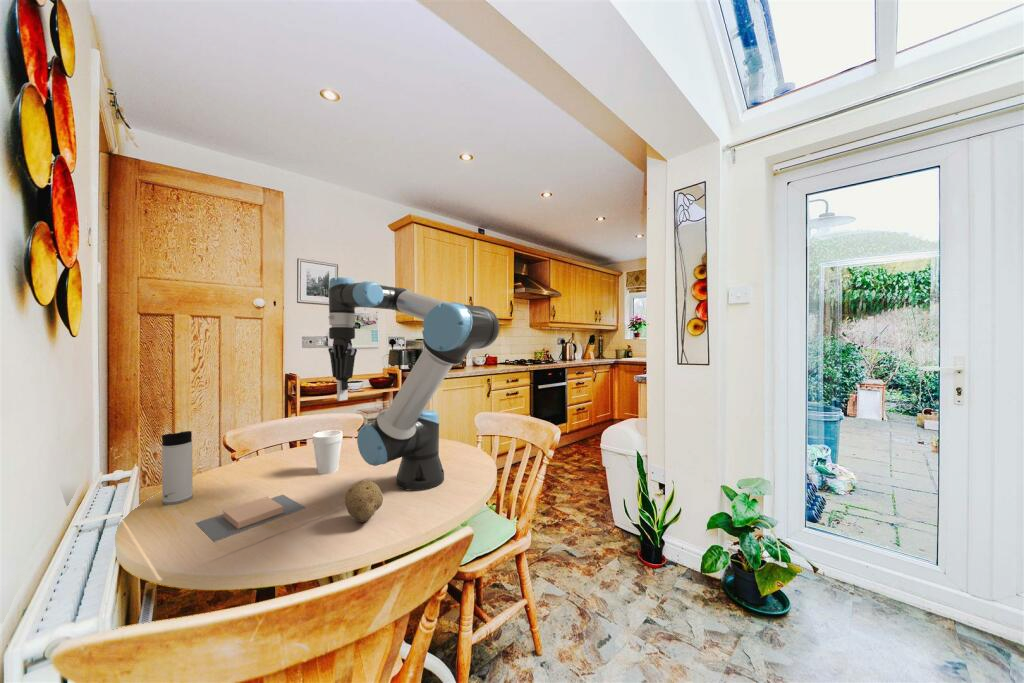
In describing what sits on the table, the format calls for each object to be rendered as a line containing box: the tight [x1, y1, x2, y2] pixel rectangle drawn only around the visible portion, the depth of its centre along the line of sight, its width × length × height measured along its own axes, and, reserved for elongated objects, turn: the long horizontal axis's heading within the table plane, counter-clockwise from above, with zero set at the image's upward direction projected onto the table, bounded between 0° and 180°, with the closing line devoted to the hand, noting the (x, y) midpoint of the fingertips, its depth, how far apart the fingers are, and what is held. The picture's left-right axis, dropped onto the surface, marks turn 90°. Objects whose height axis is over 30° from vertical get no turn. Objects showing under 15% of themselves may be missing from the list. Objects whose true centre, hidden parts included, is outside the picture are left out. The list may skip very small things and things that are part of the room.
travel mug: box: [161, 430, 194, 507], centre depth 102 cm, size 6×7×20 cm
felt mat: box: [194, 494, 306, 543], centre depth 94 cm, size 14×20×1 cm
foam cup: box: [312, 429, 344, 475], centre depth 126 cm, size 10×9×13 cm
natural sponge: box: [344, 480, 384, 523], centre depth 93 cm, size 9×9×10 cm
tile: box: [222, 496, 283, 529], centre depth 94 cm, size 2×10×10 cm
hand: (342, 399), depth 117 cm, fingers closed
